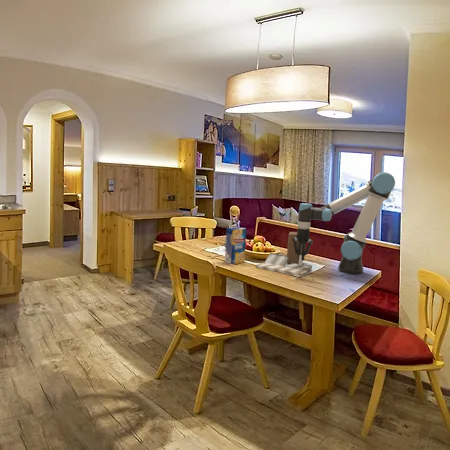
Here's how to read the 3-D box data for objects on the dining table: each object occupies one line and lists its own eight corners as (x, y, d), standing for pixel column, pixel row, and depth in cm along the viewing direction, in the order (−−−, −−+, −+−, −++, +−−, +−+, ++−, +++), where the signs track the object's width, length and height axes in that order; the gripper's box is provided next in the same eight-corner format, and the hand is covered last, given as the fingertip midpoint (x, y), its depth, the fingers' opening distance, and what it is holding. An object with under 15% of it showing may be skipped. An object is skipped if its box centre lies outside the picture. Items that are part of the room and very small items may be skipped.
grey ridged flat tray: (307, 273, 241) (307, 270, 241) (301, 276, 233) (301, 273, 233) (262, 264, 257) (262, 262, 256) (255, 267, 248) (255, 265, 248)
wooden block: (301, 265, 262) (304, 235, 259) (286, 263, 264) (288, 233, 261) (301, 261, 272) (304, 232, 269) (287, 260, 274) (289, 231, 271)
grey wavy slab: (311, 268, 250) (311, 266, 250) (306, 272, 243) (306, 269, 243) (292, 265, 257) (292, 262, 257) (286, 268, 250) (286, 265, 249)
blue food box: (244, 262, 261) (246, 228, 258) (231, 263, 254) (233, 229, 251) (237, 259, 266) (239, 227, 263) (224, 261, 260) (226, 227, 257)
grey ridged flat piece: (288, 258, 256) (288, 255, 255) (283, 267, 250) (283, 265, 249) (270, 254, 263) (269, 252, 262) (264, 264, 257) (264, 262, 256)
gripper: (315, 229, 248) (312, 266, 251) (296, 226, 255) (292, 262, 258) (311, 230, 242) (308, 268, 245) (291, 227, 248) (288, 264, 251)
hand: (300, 265), depth 251 cm, fingers closed
